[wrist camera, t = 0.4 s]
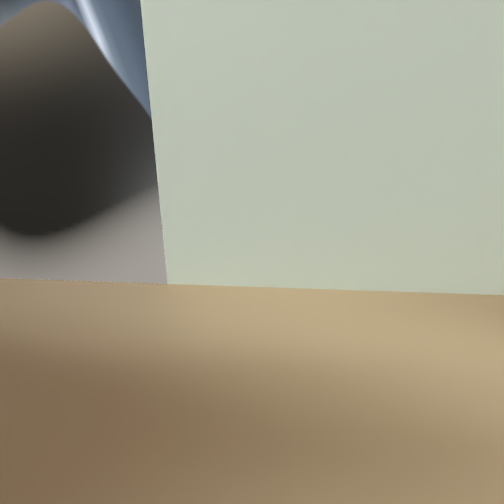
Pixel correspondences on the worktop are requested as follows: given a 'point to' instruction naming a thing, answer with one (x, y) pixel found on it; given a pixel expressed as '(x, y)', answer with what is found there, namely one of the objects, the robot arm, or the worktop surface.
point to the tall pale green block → (330, 142)
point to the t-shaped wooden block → (248, 395)
